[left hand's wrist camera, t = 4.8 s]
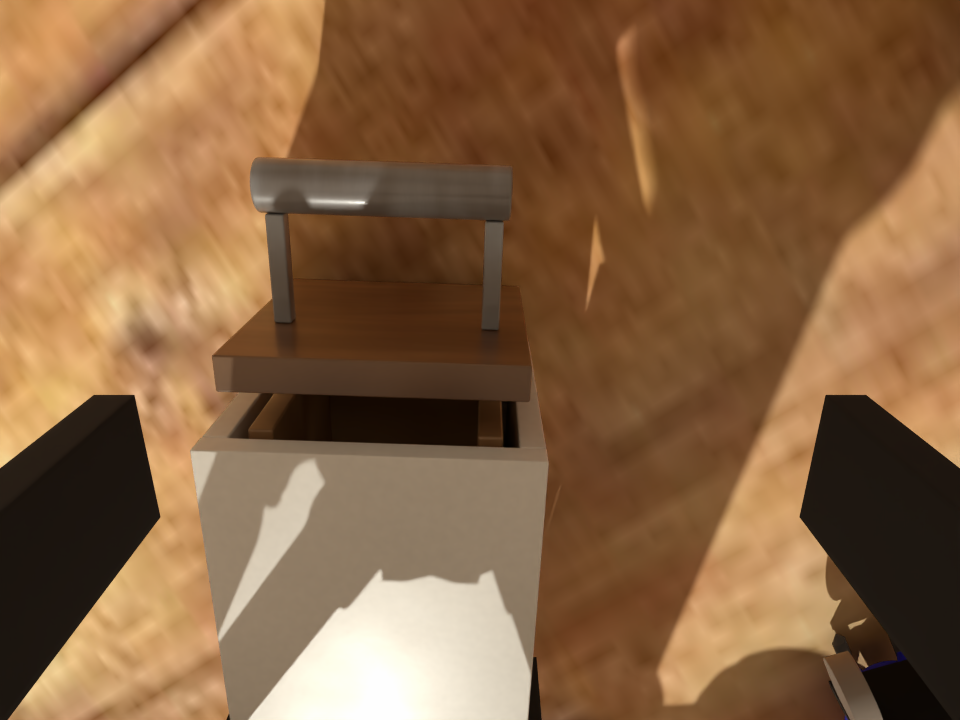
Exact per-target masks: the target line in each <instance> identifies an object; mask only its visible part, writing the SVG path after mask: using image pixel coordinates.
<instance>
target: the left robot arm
mask: <svg viewBox="0 0 960 720" xmlns="http://www.w3.org/2000/svg"><path fill="white" fill-rule="evenodd" d="M159 518H160V513H159V508H158V503H157V499H156V494H155V489H154V485H153V480H152V475H151V471H150V466H149V461H148V457H147V452H146V447H145V443H144V438H143V433H142V429H141V424H140V419H139V415H138V410H137V405H136V401H135V396H134V395H93V396H92V397H91V398H90V399H88V400H87V401H86V402H84V403H83V404H82V405H81V406H79V407H78V408H77V409H76V410H74V411H73V412H72V413H70V414H69V415H68V416H67V417H65V418H64V419H63V420H61V421H60V422H59V423H58V424H56V425H55V426H54V427H53V428H51V429H50V430H49V431H47V432H46V433H45V434H44V435H42V436H41V437H40V438H38V439H37V440H36V441H35V442H33V443H32V444H31V445H30V446H28V447H27V448H26V449H24V450H23V451H22V452H21V453H19V454H18V455H17V456H15V457H14V458H13V459H12V460H10V461H9V462H8V463H7V464H5V465H4V466H3V467H1V468H0V720H8V719H9V717H10V716H11V715H12V713H13V712H14V711H15V709H16V708H17V707H18V705H19V704H20V703H21V701H22V700H23V699H24V697H25V696H26V695H27V693H28V692H29V691H30V689H31V688H32V687H33V685H34V684H35V683H36V681H37V680H38V679H39V677H40V676H41V675H42V673H43V672H44V671H45V669H46V668H47V667H48V665H49V664H50V663H51V661H52V660H53V659H54V657H55V656H56V655H57V654H58V652H59V651H60V650H61V648H62V647H63V646H64V644H65V643H66V642H67V640H68V639H69V638H70V636H71V635H72V634H73V632H74V631H75V630H76V628H77V627H78V626H79V624H80V623H81V622H82V620H83V619H84V618H85V616H86V615H87V614H88V612H89V611H90V610H91V608H92V607H93V606H94V604H95V603H96V602H97V600H98V599H99V598H100V596H101V595H102V594H103V592H104V591H105V590H106V588H107V587H108V586H109V585H110V583H111V582H112V581H113V579H114V578H115V577H116V575H117V574H118V573H119V571H120V570H121V569H122V567H123V566H124V565H125V563H126V562H127V561H128V559H129V558H130V557H131V555H132V554H133V553H134V551H135V550H136V549H137V547H138V546H139V545H140V543H141V542H142V541H143V539H144V538H145V537H146V535H147V534H148V533H149V531H150V530H151V529H152V527H153V526H154V525H155V523H156V522H157V521H158V520H159ZM800 518H801V520H802V521H803V522H804V523H805V525H806V526H807V527H808V529H809V530H810V531H811V533H812V534H813V535H814V537H815V538H816V539H817V541H818V542H819V543H820V545H821V546H822V547H823V549H824V550H825V551H826V553H827V554H828V555H829V557H830V558H831V559H832V561H833V562H834V563H835V565H836V566H837V567H838V569H839V570H840V571H841V573H842V574H843V575H844V577H845V578H846V579H847V581H848V582H849V583H850V585H851V586H852V587H853V589H854V590H855V591H856V592H857V594H858V595H859V596H860V598H861V599H862V600H863V602H864V603H865V604H866V606H867V607H868V608H869V610H870V611H871V612H872V614H873V615H874V616H875V618H876V619H877V620H878V622H879V623H880V624H881V626H882V627H883V628H884V630H885V631H886V632H887V634H888V635H889V636H890V638H891V639H892V640H893V642H894V643H895V644H896V646H897V647H898V648H899V650H900V651H901V652H902V654H903V655H904V656H905V657H906V659H907V660H908V661H909V663H910V664H911V665H912V667H913V668H914V669H915V671H916V672H917V673H918V675H919V676H920V677H921V679H922V680H923V681H924V683H925V684H926V685H927V687H928V688H929V689H930V691H931V692H932V693H933V695H934V696H935V697H936V699H937V700H938V701H939V703H940V704H941V705H942V707H943V708H944V709H945V711H946V712H947V713H948V715H949V716H950V717H951V719H952V720H960V468H959V467H957V466H956V465H955V464H953V463H952V462H951V461H950V460H948V459H947V458H946V457H945V456H943V455H942V454H941V453H939V452H938V451H937V450H936V449H934V448H933V447H932V446H930V445H929V444H928V443H927V442H925V441H924V440H923V439H922V438H920V437H919V436H918V435H916V434H915V433H914V432H913V431H911V430H910V429H909V428H907V427H906V426H905V425H904V424H902V423H901V422H900V421H899V420H897V419H896V418H895V417H893V416H892V415H891V414H890V413H888V412H887V411H886V410H884V409H883V408H882V407H881V406H879V405H878V404H877V403H876V402H874V401H873V400H872V399H870V398H869V397H868V396H867V395H826V396H825V401H824V405H823V410H822V415H821V419H820V424H819V429H818V433H817V438H816V443H815V447H814V452H813V457H812V461H811V466H810V471H809V475H808V480H807V485H806V489H805V494H804V499H803V503H802V508H801V513H800Z"/></svg>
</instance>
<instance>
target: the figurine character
mask: <svg viewBox="0 0 960 720" xmlns="http://www.w3.org/2000/svg"><path fill="white" fill-rule="evenodd" d="M888 636H889V635H888ZM889 638H890V636H889ZM890 641H891V643H892V646H893V648H894V651H895V653H896V656H897V660H898V661H883V662H879V663H876V664H873V665H871V666H869V667H867V668H866V669H864V670H861V669H860V668H859V667H858V665H857V663H856V662H855V660H854V658H853V656H852V654H851V651H850V649H849V646H848V644H847V641H846V639H845V637H844V636H841V635H839V634H835V637H834V640H833V642H832V645H833V647H834V649H835V652H836V654H835V655H831V656H828V657H824V658H823V660H824V664H825V666H826V669H827V672H828V674H829V677H830V679H831V680H830V681H829V684H830V686H831V689H832V691H833V693H834V695H835V697H836V699H837V700H838V702H839V704H840V706H841V708H842V710H843V712H844V714H845V719H844V720H952V719H951V717H950V716H949V715H948V713H947V712H946V711H945V709H944V708H943V707H942V705H941V704H940V703H939V701H938V700H937V699H936V697H935V696H934V695H933V693H932V692H931V691H930V689H929V688H928V687H927V685H926V684H925V683H924V681H923V680H922V679H921V677H920V676H919V675H918V673H917V672H916V671H915V669H914V668H913V667H912V665H911V664H910V663H909V661H908V660H907V659H906V657H905V656H904V655H903V654H902V652H901V651H900V650H899V648H898V647H897V646H896V644H895V643H894V642H893V640H892V639H891V638H890Z"/></svg>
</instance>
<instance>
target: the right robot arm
mask: <svg viewBox="0 0 960 720" xmlns="http://www.w3.org/2000/svg"><path fill="white" fill-rule="evenodd" d="M227 720H230V715H228V717H227ZM528 720H542V718H541V706H540V695H539V683H538V671H537V660H536V657H533V665H532V678H531V690H530V702H529V715H528Z"/></svg>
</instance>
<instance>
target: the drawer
mask: <svg viewBox="0 0 960 720" xmlns="http://www.w3.org/2000/svg"><path fill="white" fill-rule="evenodd" d="M512 189H513V168H512V166H506V165H476V164H447V163H418V162H389V161H359V160H330V159H301V158H272V157H257V158H255V159H254V161H253V163H252V167H251V172H250V190H251V196H252V200H253V203H254V206H255V208H256V209H257V211H259V212H261V213H267V214H266V215H265V220H266V231H267V243H268V254H269V266H270V277H271V288H272V299H271V300H270V301H269V302H268V303H267V304H266V305H265V306H264V307H263V308H262V309H261V310H260V311H259V312H258V313H257V314H256V315H254V316H253V317H252V318H251V319H250V320H249V321H248V322H247V323H246V324H245V325H244V326H243V327H242V328H241V329H240V330H239V331H238V332H237V333H235V334H234V335H233V336H232V337H231V338H230V339H229V340H228V341H227V342H226V343H225V344H224V345H223V346H222V347H221V348H220V349H219V350H218V351H216V352H215V353H214V354H213V355H212V361H213V368H214V376H215V384H216V391H218V392H243V393H273V396H272V397H271V398H270V400H269V401H268V403H267V404H266V405H265V407H264V408H263V410H262V411H261V412H260V414H259V415H258V417H257V418H256V419H255V421H254V422H253V424H252V425H251V426H250V428H249V430H248V434H249V439H265V440H295V441H325V442H355V443H384V444H414V445H444V446H474V447H503V422H502V401H510V402H529V401H530V394H531V379H532V363H531V357H530V350H529V344H528V338H527V332H526V326H525V320H524V313H523V307H522V301H521V295H520V289H519V287H518V286H501V276H502V254H503V231H504V221H509V220H510V218H511V208H512ZM288 214H316V215H346V216H375V217H404V218H434V219H463V220H485V237H484V266H483V285H465V284H436V283H406V282H377V281H347V280H318V279H293V275H292V262H291V248H290V235H289V222H288Z"/></svg>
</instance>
